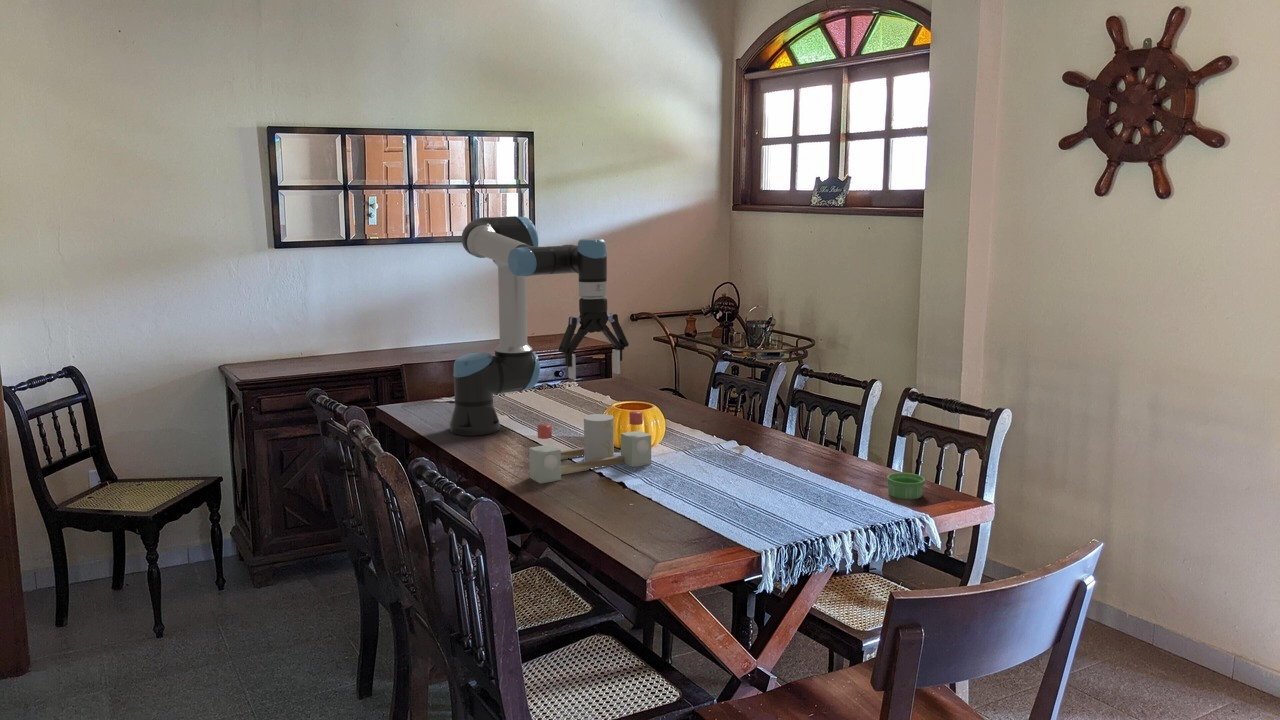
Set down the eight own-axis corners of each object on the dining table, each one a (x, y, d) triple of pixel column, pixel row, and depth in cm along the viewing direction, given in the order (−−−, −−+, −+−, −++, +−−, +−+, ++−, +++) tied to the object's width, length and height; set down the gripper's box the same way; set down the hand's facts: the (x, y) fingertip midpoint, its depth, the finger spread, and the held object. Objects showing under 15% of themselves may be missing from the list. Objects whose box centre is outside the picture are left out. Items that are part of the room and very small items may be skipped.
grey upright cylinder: (610, 464, 271) (609, 421, 269) (581, 463, 273) (580, 420, 271) (616, 456, 279) (616, 414, 277) (588, 455, 281) (588, 413, 279)
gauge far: (626, 422, 272) (626, 411, 271) (638, 421, 273) (638, 410, 273) (633, 425, 269) (633, 414, 268) (645, 423, 270) (645, 412, 270)
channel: (537, 462, 274) (536, 455, 273) (597, 452, 284) (597, 445, 283) (560, 474, 262) (560, 467, 262) (623, 463, 272) (623, 456, 272)
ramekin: (882, 489, 250) (883, 472, 250) (919, 489, 250) (920, 472, 249) (890, 500, 242) (891, 483, 241) (928, 500, 241) (929, 483, 240)
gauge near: (535, 436, 257) (534, 425, 257) (547, 434, 259) (547, 423, 259) (541, 439, 254) (541, 428, 254) (554, 437, 256) (553, 426, 256)
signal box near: (529, 477, 260) (529, 447, 258) (550, 474, 263) (550, 444, 261) (540, 483, 254) (540, 453, 253) (561, 480, 257) (561, 449, 256)
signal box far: (620, 461, 274) (620, 433, 272) (639, 458, 277) (639, 430, 276) (633, 467, 269) (632, 438, 267) (651, 464, 272) (651, 435, 270)
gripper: (557, 301, 257) (559, 382, 261) (640, 295, 270) (641, 373, 274) (544, 299, 264) (546, 378, 267) (626, 293, 276) (627, 369, 280)
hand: (594, 376), depth 270 cm, fingers open, 13 cm apart
